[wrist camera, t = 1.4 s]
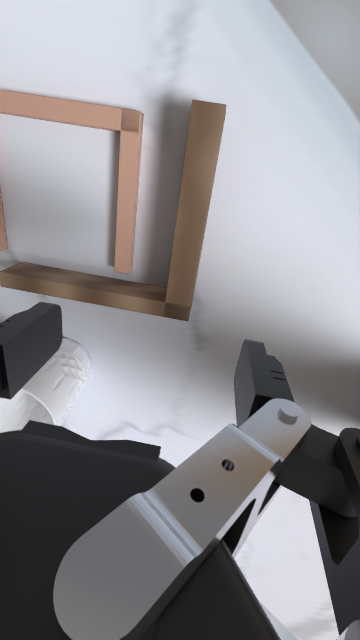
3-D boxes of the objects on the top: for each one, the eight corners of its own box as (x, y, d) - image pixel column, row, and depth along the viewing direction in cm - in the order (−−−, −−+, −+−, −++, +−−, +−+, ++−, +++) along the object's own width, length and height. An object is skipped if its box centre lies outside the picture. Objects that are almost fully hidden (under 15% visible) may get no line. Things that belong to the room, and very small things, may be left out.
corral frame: (143, 114, 24) (140, 111, 23) (132, 270, 30) (128, 273, 29) (-28, 88, 25) (-39, 83, 24) (-6, 245, 31) (-15, 248, 30)
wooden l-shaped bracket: (225, 116, 24) (226, 104, 20) (191, 305, 31) (188, 321, 28) (7, 83, 25) (-30, 66, 21) (25, 274, 32) (0, 286, 29)
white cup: (57, 392, 39) (8, 455, 30) (23, 342, 36) (-43, 396, 27) (107, 377, 37) (71, 440, 28) (75, 324, 34) (23, 375, 25)
